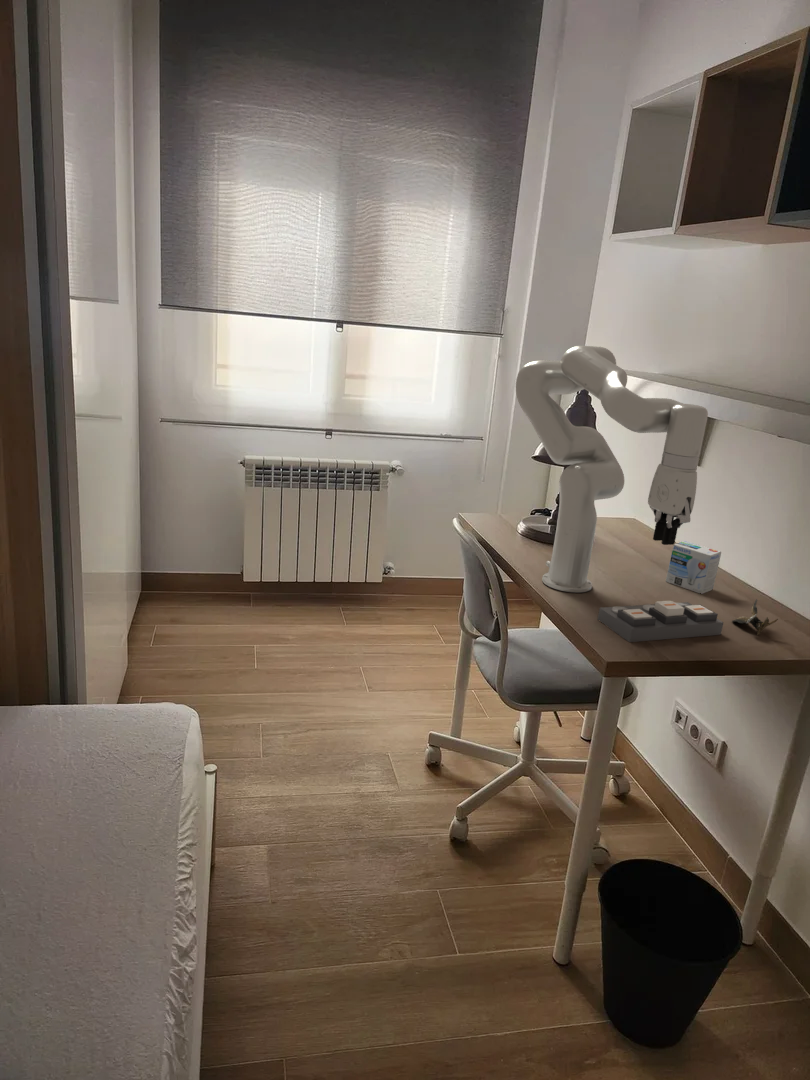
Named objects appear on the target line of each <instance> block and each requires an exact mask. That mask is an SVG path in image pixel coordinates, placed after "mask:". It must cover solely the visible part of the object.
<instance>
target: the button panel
mask: <svg viewBox="0 0 810 1080" xmlns="http://www.w3.org/2000/svg"><path fill="white" fill-rule="evenodd" d="M675 603H676V604H678V605H680V606H682V607H683V608H684V613H683V615H679V616H665V615H664V614H662V613H661V612H659V611H657V610H656V609H654V607H655V603H654V604H653V603H652V604H651V603H650V604H638V605H636V604H635V605H634V604H633V605H623V606H605V607H599V610H598V615H597V621H598V620H600V621H601V622H602V623H601V622H600V621H599V622H600V623H601V624H603V623H604V624H605V625H604V624H603V625H604V626H606V625H607V626H608V627H609V629H610V628H611V629H612V630H611V629H610V630H611V631H613V633H616V635H618V636H620V637H621V638H622V639H624V640H626V641H627V642H629V643H635V642H637V643H638V642H645V641H658V640H659V641H660V640H661V641H662V640H671V639H685V638H695V637H707V636H720V635H722V630H723V627H724V622H723V621H722V620H721V619H718V615H719V614H718V613H717V612H715V611H714V610H712V609H710V608H708V607H706V606H704V605H702V604H697V605H701V606H703V607H705V608H707V609H708V610H710V611H712V612H713V614H702V615H697V614H695V613H694V612H692V611H690V610H688V609H687V608H685V606H690V605H693V603H690V602H689V601H685V602H675ZM628 609H641V610H642V611H644V612H645V613H647V614H648V615H650V616H652V618H645V619H634V618H632V617H631V616H629V615H627V614H626V613H624V612H623V610H628ZM607 626H606V627H607ZM608 627H607V628H608Z"/></svg>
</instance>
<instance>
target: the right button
mask: <svg viewBox="0 0 810 1080" xmlns="http://www.w3.org/2000/svg"><path fill="white" fill-rule="evenodd" d="M701 605H702V604H700V605H698V604H692V605H690V606H685V608H687V609H688V610H690V611H692V612H694V613H695V614H697V615H702V614H713V612H714V611H713V610H711V609H709V608H708V607H706V606H704V605H702V606H701ZM703 606H704V607H703ZM705 607H706V608H705ZM707 608H708V609H709V610H708V609H707ZM710 610H711V611H710ZM712 611H713V612H712Z"/></svg>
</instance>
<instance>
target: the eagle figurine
mask: <svg viewBox="0 0 810 1080" xmlns="http://www.w3.org/2000/svg"><path fill="white" fill-rule="evenodd" d="M757 602H758V599H755V601H754V602H753V604H752V607H751V610H750V611H751V616H739V617H737V618H735V619H733V620H732V622H736V623H739V624H751V625H752V627H753V628H754V629H756V630H757V634H756V635H759V636H760V634H761V633H762V632H763V630H765V628H767V627H768V626H771V625H772V624H774V623H776V622H777V621H778V620H779V618H775V619H774V620H772V621H770V619H769V617H768V616H767V617H766V618H765V620H764V621H763V620H761V619H759V617H758V616H757V615H758V607H757V606H756V605H757Z"/></svg>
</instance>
